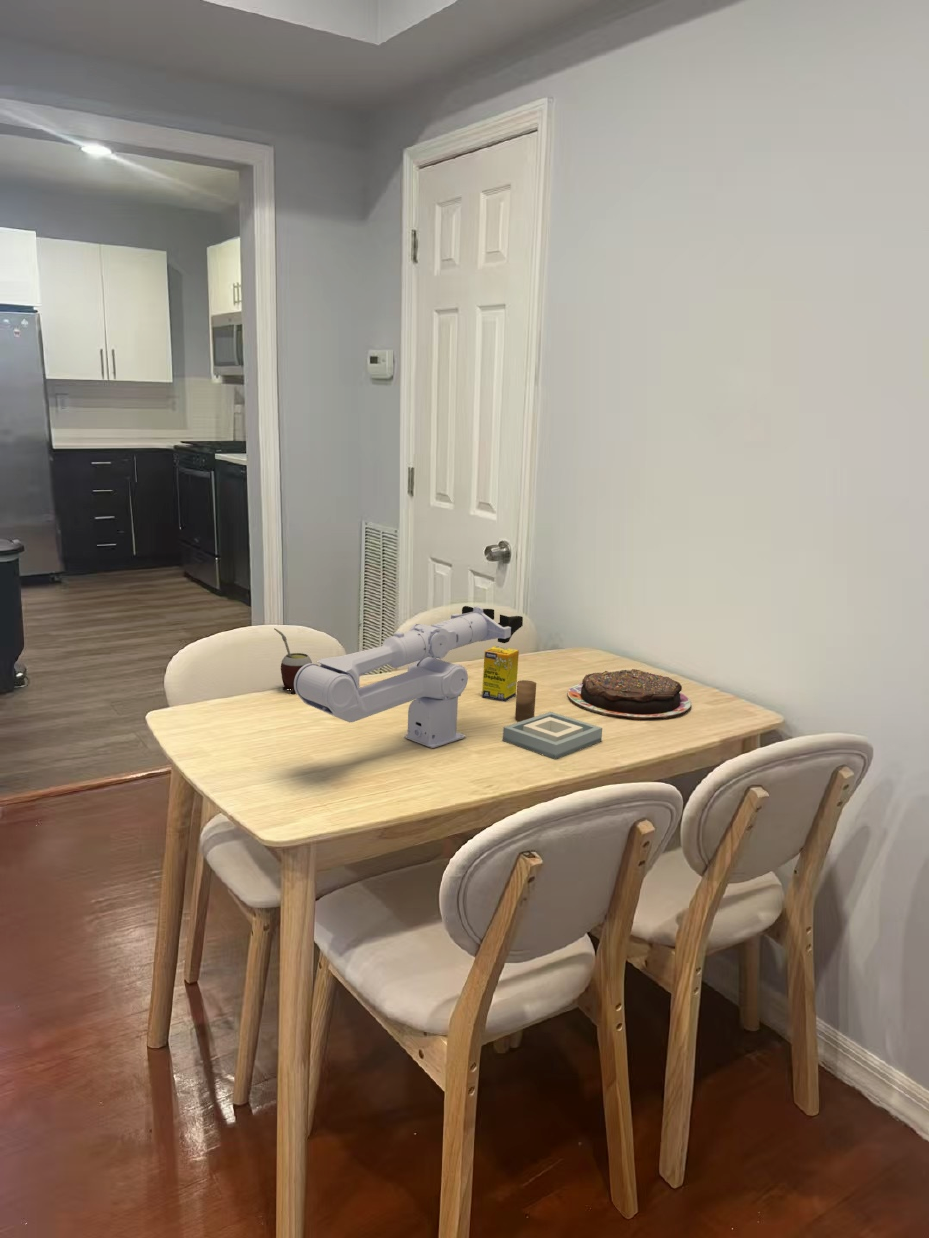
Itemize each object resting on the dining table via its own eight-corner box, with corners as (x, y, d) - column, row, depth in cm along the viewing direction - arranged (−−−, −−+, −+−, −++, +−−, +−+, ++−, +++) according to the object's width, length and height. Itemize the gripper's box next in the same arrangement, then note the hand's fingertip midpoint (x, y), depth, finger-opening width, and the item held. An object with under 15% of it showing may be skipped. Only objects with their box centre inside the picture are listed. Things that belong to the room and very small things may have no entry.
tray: (555, 759, 169) (556, 745, 169) (502, 740, 178) (503, 727, 177) (601, 741, 180) (602, 727, 180) (549, 724, 189) (550, 711, 188)
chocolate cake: (541, 698, 208) (543, 670, 207) (615, 678, 227) (618, 653, 226) (643, 731, 188) (645, 701, 187) (714, 706, 207) (717, 679, 206)
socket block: (556, 747, 173) (557, 736, 173) (522, 736, 179) (523, 725, 178) (582, 738, 179) (583, 727, 179) (548, 727, 185) (549, 716, 184)
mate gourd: (316, 686, 207) (316, 622, 204) (306, 697, 199) (307, 630, 196) (284, 684, 208) (284, 620, 204) (273, 694, 200) (273, 628, 197)
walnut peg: (525, 723, 189) (528, 686, 187) (511, 718, 191) (513, 682, 189) (537, 719, 191) (540, 683, 190) (523, 715, 194) (525, 679, 192)
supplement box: (481, 697, 205) (483, 650, 203) (493, 691, 210) (495, 645, 208) (505, 702, 202) (508, 654, 200) (516, 695, 208) (519, 649, 205)
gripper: (489, 618, 172) (535, 605, 181) (435, 604, 181) (481, 592, 191) (489, 654, 174) (534, 638, 183) (435, 638, 183) (480, 624, 193)
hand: (507, 617), depth 187 cm, fingers open, 7 cm apart
